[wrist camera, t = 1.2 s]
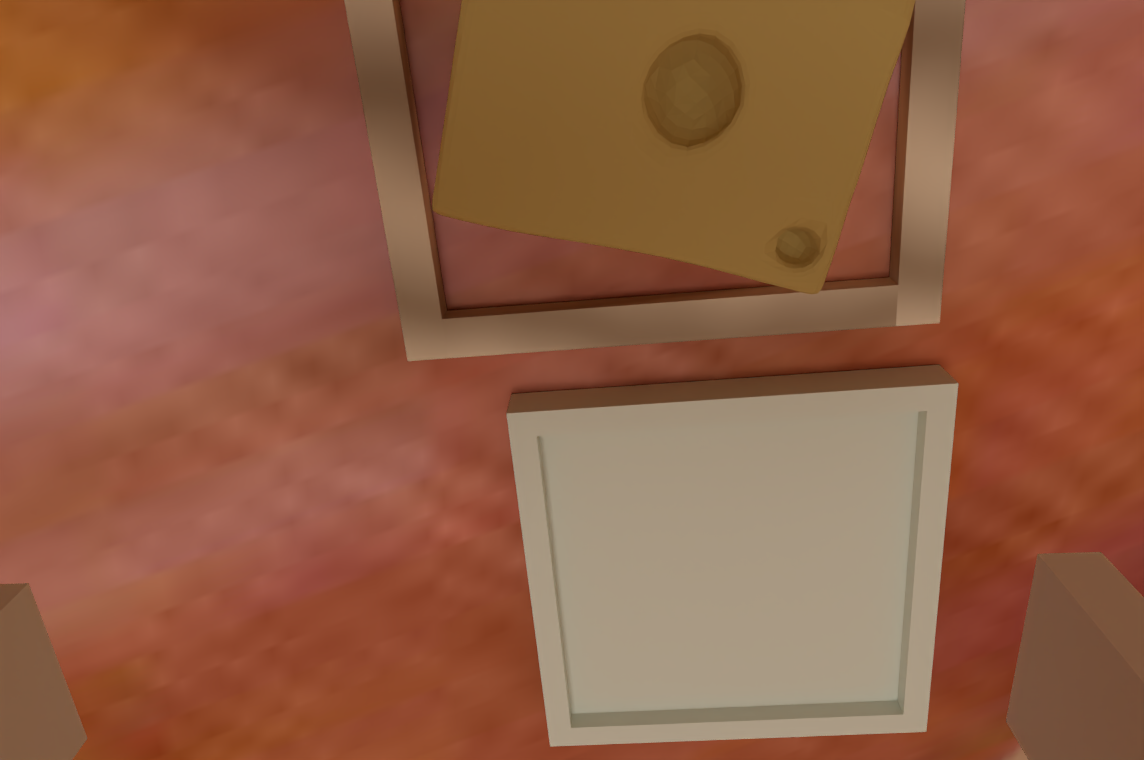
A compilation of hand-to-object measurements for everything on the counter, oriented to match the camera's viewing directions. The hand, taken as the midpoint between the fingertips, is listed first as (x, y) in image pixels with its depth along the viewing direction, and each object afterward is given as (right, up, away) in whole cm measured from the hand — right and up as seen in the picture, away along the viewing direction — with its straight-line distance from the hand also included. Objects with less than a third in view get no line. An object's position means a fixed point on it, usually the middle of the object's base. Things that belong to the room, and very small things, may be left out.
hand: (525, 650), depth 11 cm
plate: (+7, -4, +23) cm, 25 cm away
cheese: (+3, +15, +16) cm, 22 cm away
